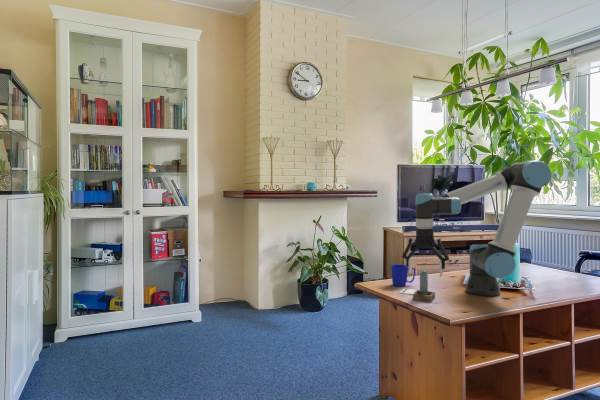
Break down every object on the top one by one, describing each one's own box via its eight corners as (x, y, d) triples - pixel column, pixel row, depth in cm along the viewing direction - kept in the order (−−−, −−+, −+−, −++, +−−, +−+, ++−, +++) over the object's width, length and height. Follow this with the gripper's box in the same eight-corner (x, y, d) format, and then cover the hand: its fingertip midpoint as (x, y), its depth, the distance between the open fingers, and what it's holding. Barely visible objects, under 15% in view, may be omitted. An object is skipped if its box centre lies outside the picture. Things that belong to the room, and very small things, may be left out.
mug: (415, 287, 199) (416, 268, 199) (391, 286, 202) (391, 267, 202) (414, 284, 207) (414, 265, 207) (390, 283, 210) (391, 264, 210)
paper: (433, 292, 190) (433, 291, 190) (429, 296, 182) (429, 296, 182) (404, 289, 197) (404, 288, 197) (399, 293, 189) (399, 292, 189)
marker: (428, 296, 180) (428, 270, 180) (427, 298, 177) (427, 272, 177) (420, 296, 181) (420, 270, 181) (419, 297, 178) (419, 271, 178)
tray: (434, 297, 180) (435, 292, 180) (431, 302, 173) (431, 296, 173) (417, 295, 184) (417, 289, 184) (412, 299, 177) (413, 293, 177)
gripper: (455, 227, 175) (456, 275, 176) (399, 226, 188) (400, 271, 188) (452, 229, 169) (453, 278, 169) (394, 228, 181) (395, 274, 181)
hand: (425, 274), depth 179 cm, fingers open, 13 cm apart
